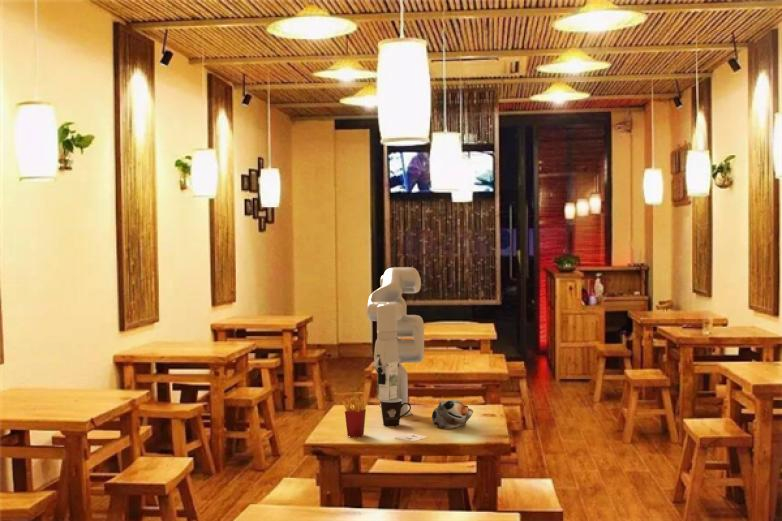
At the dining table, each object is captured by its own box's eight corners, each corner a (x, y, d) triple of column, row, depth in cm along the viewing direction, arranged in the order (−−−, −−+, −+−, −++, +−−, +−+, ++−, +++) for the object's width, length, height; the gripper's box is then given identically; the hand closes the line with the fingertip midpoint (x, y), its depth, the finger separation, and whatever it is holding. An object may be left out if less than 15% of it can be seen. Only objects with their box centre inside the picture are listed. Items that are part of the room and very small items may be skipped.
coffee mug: (377, 426, 359) (377, 401, 358) (385, 422, 367) (384, 397, 366) (404, 428, 355) (404, 403, 354) (411, 423, 363) (411, 399, 362)
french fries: (361, 438, 338) (360, 398, 338) (340, 437, 341) (340, 397, 340) (368, 433, 347) (367, 394, 346) (348, 432, 349) (347, 393, 349)
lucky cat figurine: (467, 422, 364) (477, 395, 357) (464, 440, 353) (474, 412, 347) (432, 411, 364) (440, 384, 358) (428, 429, 354) (437, 401, 347)
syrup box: (385, 397, 347) (385, 359, 346) (398, 398, 343) (397, 361, 343) (377, 399, 342) (376, 361, 342) (389, 401, 339) (389, 362, 338)
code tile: (394, 438, 338) (394, 437, 338) (409, 433, 345) (409, 433, 345) (413, 441, 332) (413, 441, 332) (428, 437, 339) (428, 436, 339)
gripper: (393, 333, 351) (394, 379, 352) (364, 337, 338) (365, 385, 338) (408, 334, 346) (409, 380, 347) (379, 338, 333) (380, 387, 334)
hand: (387, 382), depth 343 cm, fingers closed on syrup box, 5 cm apart
